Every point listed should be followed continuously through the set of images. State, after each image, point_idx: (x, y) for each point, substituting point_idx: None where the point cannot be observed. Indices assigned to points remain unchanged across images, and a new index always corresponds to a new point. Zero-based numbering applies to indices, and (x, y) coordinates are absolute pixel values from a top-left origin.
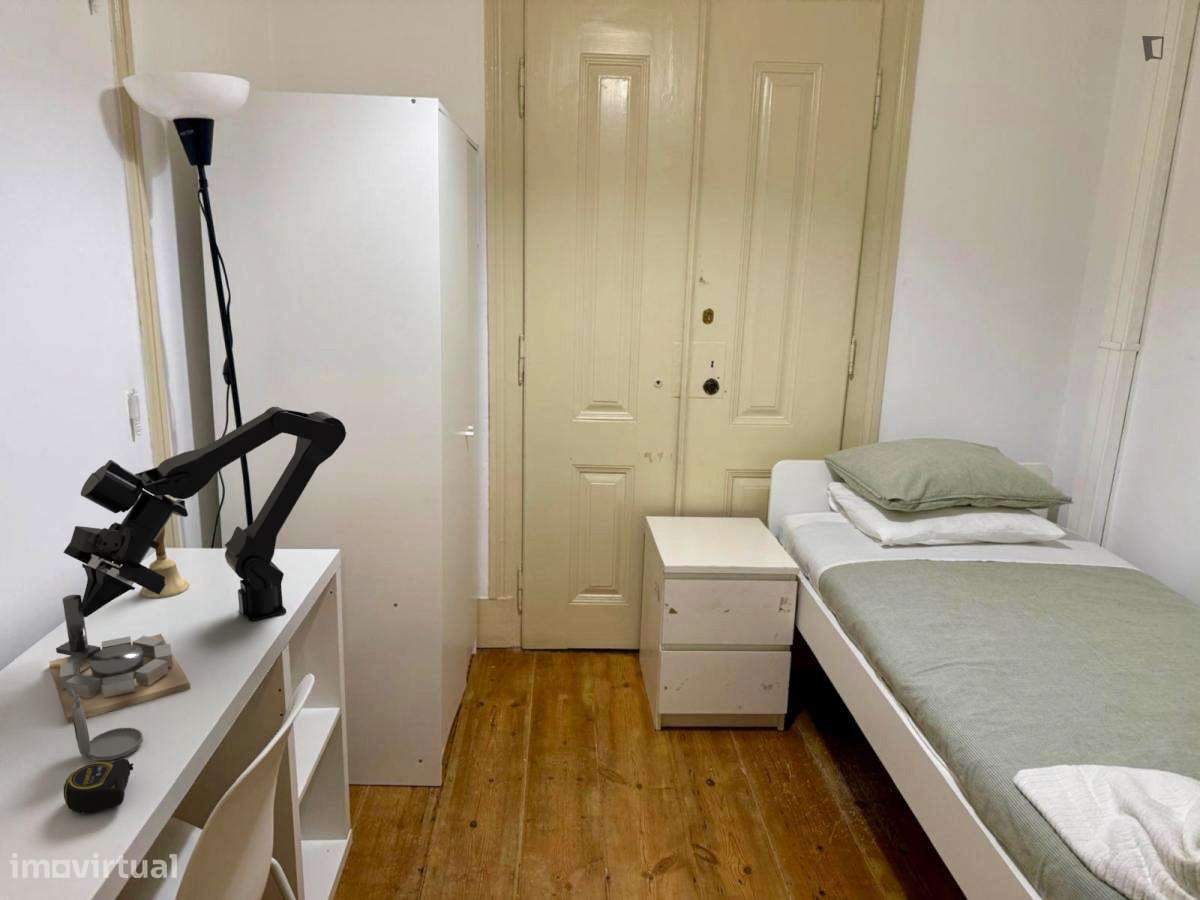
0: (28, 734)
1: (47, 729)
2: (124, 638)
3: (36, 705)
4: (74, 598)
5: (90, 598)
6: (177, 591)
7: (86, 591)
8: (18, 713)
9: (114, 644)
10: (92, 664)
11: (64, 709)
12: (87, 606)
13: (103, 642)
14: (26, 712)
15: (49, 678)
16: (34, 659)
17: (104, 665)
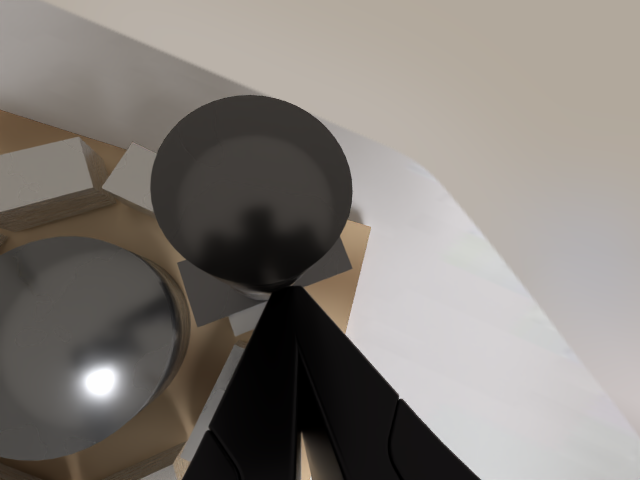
0: (41, 40)
1: (18, 74)
2: None
3: (176, 116)
4: (216, 195)
5: (252, 389)
6: None
7: (383, 414)
8: (175, 75)
9: (217, 394)
10: (74, 237)
11: (29, 119)
12: (254, 337)
13: None
14: (162, 87)
15: None
16: (442, 226)
17: (14, 263)
